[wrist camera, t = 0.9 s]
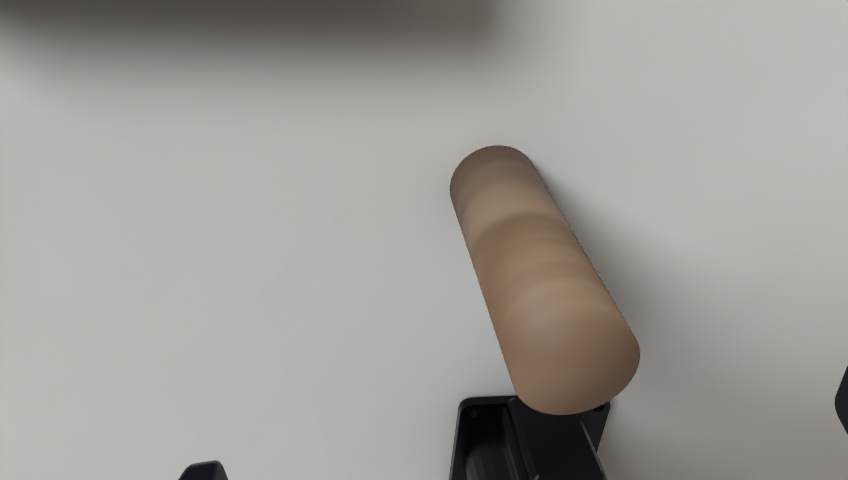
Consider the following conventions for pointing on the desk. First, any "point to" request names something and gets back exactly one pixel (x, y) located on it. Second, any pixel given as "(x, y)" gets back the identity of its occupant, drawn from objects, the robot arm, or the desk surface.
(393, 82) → the desk surface
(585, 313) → the dowel
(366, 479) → the desk surface
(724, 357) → the desk surface
